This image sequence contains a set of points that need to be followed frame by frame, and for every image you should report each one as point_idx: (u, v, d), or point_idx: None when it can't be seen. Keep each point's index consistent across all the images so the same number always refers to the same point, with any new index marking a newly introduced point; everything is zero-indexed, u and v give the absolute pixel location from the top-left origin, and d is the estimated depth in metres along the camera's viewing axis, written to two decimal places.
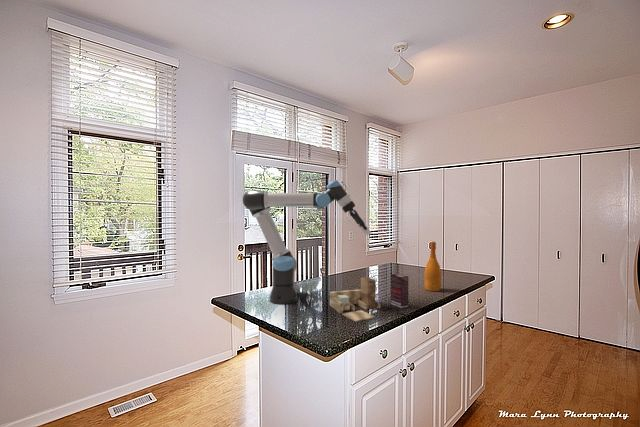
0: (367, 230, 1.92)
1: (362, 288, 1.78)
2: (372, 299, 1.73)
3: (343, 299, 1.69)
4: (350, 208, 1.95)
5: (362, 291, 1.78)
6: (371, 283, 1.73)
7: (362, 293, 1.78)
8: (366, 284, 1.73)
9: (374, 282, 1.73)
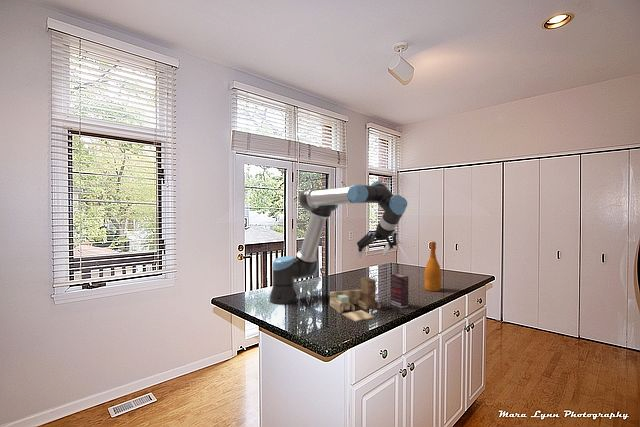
0: (360, 252, 1.63)
1: (362, 288, 1.78)
2: (372, 299, 1.73)
3: (343, 299, 1.69)
4: (377, 230, 1.53)
5: (362, 291, 1.78)
6: (371, 283, 1.73)
7: (362, 293, 1.78)
8: (366, 284, 1.73)
9: (374, 282, 1.73)
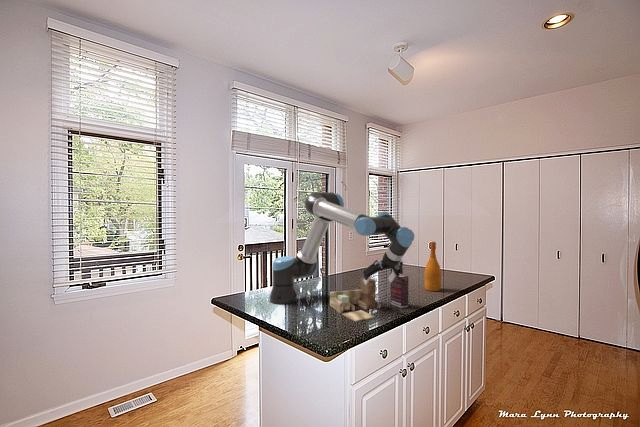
0: (366, 280, 1.63)
1: (362, 288, 1.78)
2: (372, 299, 1.73)
3: (343, 299, 1.70)
4: (383, 260, 1.53)
5: (362, 291, 1.78)
6: (371, 283, 1.73)
7: (362, 293, 1.78)
8: None
9: (374, 282, 1.73)
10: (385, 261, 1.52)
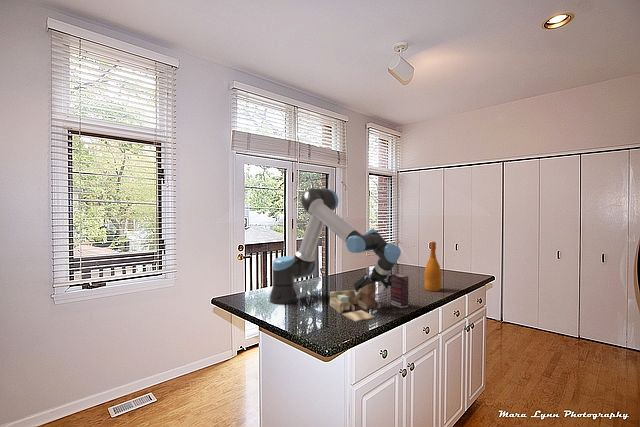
0: (356, 292, 1.73)
1: (362, 288, 1.78)
2: (372, 299, 1.73)
3: (343, 299, 1.70)
4: (372, 273, 1.64)
5: (362, 291, 1.78)
6: (371, 283, 1.73)
7: (362, 293, 1.78)
8: None
9: (374, 282, 1.73)
10: (374, 275, 1.63)
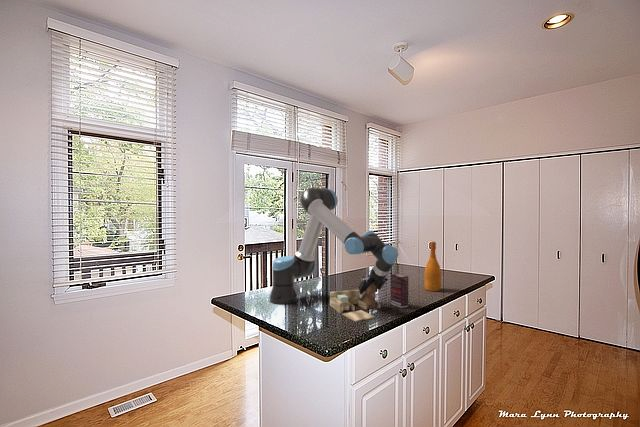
0: (361, 294, 1.77)
1: None
2: (372, 299, 1.73)
3: (342, 299, 1.70)
4: None
5: None
6: None
7: None
8: None
9: None
10: (372, 276, 1.64)
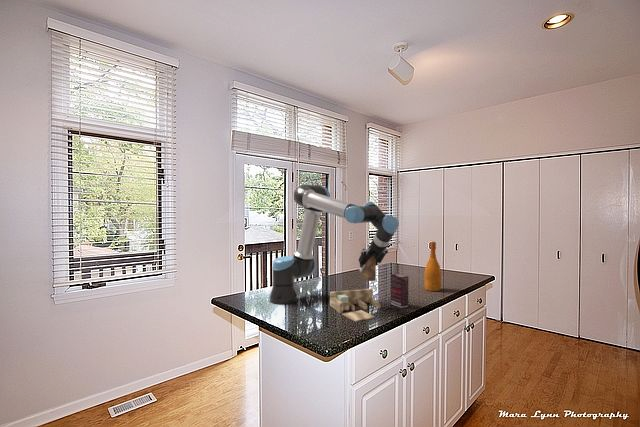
0: (361, 268, 1.77)
1: None
2: (372, 271, 1.73)
3: (342, 299, 1.70)
4: None
5: None
6: None
7: None
8: None
9: (374, 255, 1.73)
10: (372, 247, 1.64)
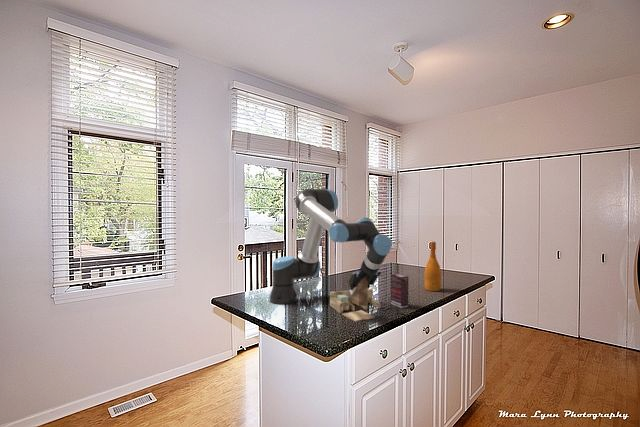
0: (351, 290, 1.60)
1: None
2: (364, 295, 1.56)
3: (343, 299, 1.70)
4: (359, 269, 1.48)
5: None
6: None
7: None
8: None
9: None
10: (363, 269, 1.47)
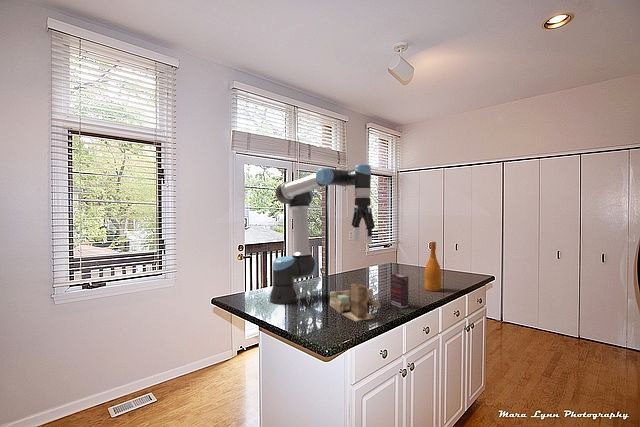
0: (369, 238, 1.55)
1: (352, 295, 1.61)
2: (363, 307, 1.56)
3: (343, 299, 1.69)
4: (366, 204, 1.58)
5: (352, 299, 1.61)
6: (362, 290, 1.56)
7: (352, 301, 1.61)
8: (356, 291, 1.56)
9: (365, 289, 1.56)
10: (368, 203, 1.59)
